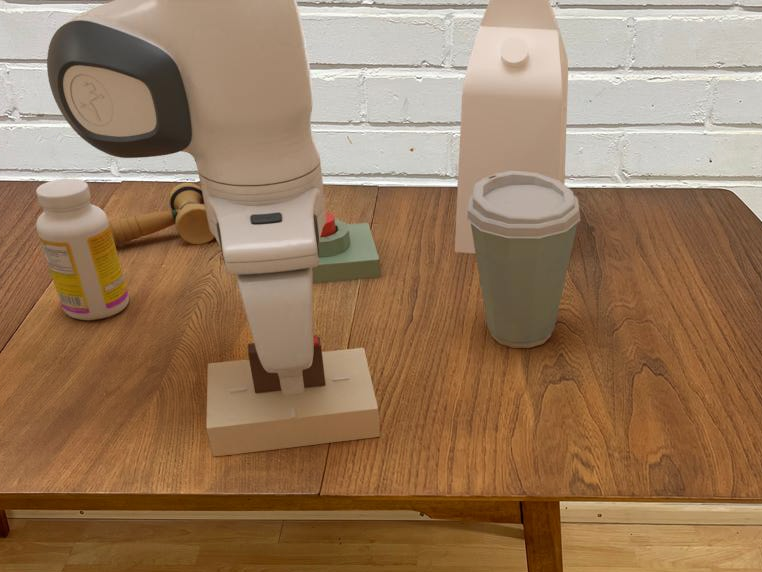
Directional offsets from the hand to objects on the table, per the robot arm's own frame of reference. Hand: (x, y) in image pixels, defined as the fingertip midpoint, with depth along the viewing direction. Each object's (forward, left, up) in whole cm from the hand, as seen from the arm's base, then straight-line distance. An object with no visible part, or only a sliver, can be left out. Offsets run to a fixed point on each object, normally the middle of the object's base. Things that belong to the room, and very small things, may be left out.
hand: (289, 359), depth 76 cm
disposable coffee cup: (+23, +9, -6) cm, 25 cm away
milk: (+28, +32, -6) cm, 43 cm away
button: (+5, +29, -2) cm, 30 cm away
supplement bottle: (-19, +23, -6) cm, 31 cm away
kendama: (-11, +39, -6) cm, 41 cm away
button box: (+5, +29, -6) cm, 30 cm away
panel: (0, 0, -6) cm, 6 cm away
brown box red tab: (0, 0, -2) cm, 2 cm away
